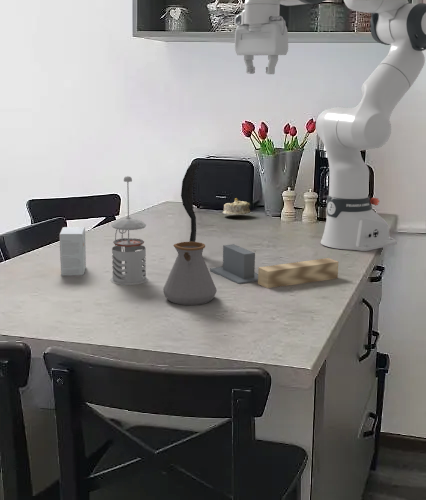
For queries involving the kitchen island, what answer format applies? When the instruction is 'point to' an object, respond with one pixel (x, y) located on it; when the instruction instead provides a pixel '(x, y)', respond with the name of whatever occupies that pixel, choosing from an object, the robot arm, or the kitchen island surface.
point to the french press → (128, 251)
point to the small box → (72, 250)
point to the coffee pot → (189, 276)
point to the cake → (236, 208)
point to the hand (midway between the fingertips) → (260, 74)
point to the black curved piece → (189, 197)
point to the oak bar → (297, 272)
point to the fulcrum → (237, 265)
